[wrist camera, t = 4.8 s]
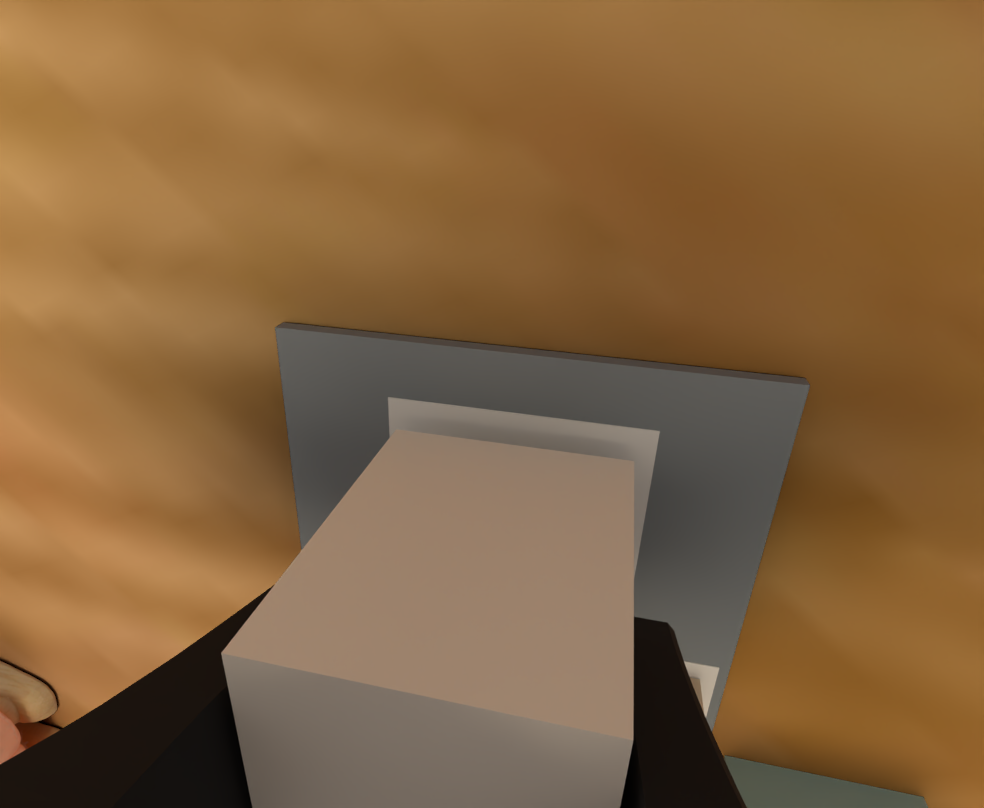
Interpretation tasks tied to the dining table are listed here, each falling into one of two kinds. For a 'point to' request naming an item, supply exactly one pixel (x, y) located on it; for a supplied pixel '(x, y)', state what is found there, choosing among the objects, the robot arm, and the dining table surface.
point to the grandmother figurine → (23, 711)
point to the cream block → (449, 637)
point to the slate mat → (569, 428)
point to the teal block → (809, 789)
